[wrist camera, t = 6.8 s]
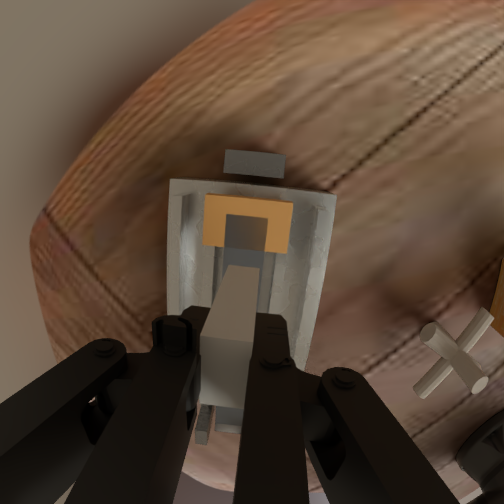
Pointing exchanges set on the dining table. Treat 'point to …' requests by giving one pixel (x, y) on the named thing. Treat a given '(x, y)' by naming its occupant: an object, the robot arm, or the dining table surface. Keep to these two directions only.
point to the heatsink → (275, 264)
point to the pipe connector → (454, 355)
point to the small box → (498, 304)
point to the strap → (244, 249)
